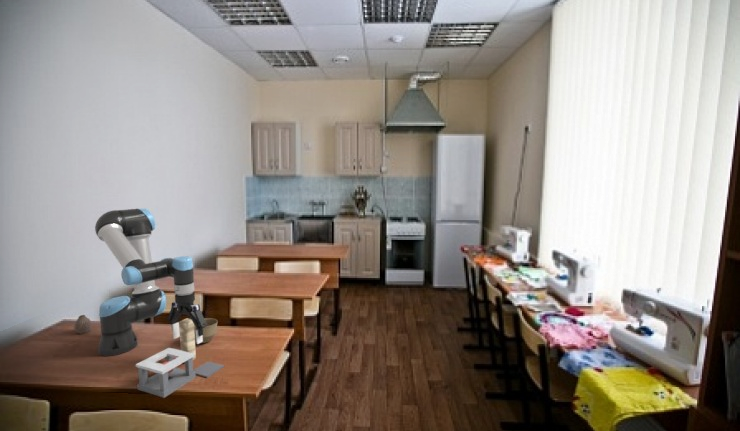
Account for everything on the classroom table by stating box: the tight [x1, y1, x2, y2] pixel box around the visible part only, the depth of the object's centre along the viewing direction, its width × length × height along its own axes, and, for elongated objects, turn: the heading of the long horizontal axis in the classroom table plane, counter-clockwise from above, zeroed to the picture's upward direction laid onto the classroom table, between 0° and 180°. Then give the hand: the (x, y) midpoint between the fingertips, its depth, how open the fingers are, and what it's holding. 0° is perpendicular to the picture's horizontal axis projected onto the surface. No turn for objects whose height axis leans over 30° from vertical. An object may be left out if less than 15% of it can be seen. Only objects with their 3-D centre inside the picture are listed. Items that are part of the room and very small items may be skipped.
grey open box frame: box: [135, 347, 197, 399], centre depth 136 cm, size 14×14×10 cm
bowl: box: [194, 317, 218, 344], centre depth 172 cm, size 13×13×10 cm
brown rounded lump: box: [73, 314, 92, 335], centre depth 182 cm, size 7×7×9 cm
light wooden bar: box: [178, 317, 197, 361], centre depth 153 cm, size 4×4×18 cm
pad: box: [193, 361, 225, 379], centre depth 146 cm, size 9×9×1 cm
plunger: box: [160, 360, 173, 377], centre depth 136 cm, size 4×4×5 cm
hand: (187, 340), depth 153 cm, fingers open, 13 cm apart
